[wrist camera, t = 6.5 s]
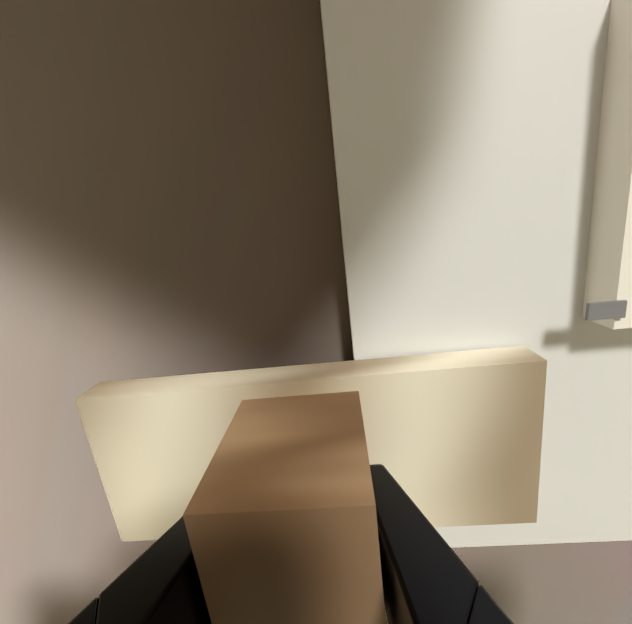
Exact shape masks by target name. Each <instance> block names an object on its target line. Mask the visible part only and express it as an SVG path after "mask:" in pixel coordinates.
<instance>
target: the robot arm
mask: <svg viewBox="0 0 632 624" xmlns="http://www.w3.org/2000/svg"><path fill="white" fill-rule="evenodd" d="M370 470H371V477H372V484H373V490H374V497H375V504H376V514H377V526H378V538H379V549H380V561H381V573H382V584H383V596H384V605H385V609H386V614H387V618H388V622H389V624H513V622H512V621H511V620H510V619H509V618H508V617H507V615H506V614H505V613H504V612H503V611H502V610H501V608H500V607H499V606H498V605H497V604H496V602H495V601H494V600H493V599H492V597H491V596H490V595H489V594H488V592H487V591H486V590H485V589H484V588H483V586H481V585H479V582H478V580H477V579H476V578H475V577H474V576H473V574H472V573H471V572H470V571H469V569H468V568H467V567H466V566H465V565H464V563H463V562H462V561H461V560H460V558H459V557H458V556H457V555H456V554H455V552H454V551H453V550H452V549H451V547H450V546H449V545H448V544H447V542H446V541H445V540H444V539H443V538H442V536H441V535H440V534H439V533H438V531H437V530H436V529H435V528H434V527H433V525H432V524H431V523H430V522H429V520H428V519H427V518H426V517H425V516H424V514H423V513H422V512H421V511H420V509H419V508H418V507H417V506H416V505H415V503H414V502H413V501H412V500H411V498H410V497H409V496H408V495H407V493H406V492H405V491H404V490H403V489H402V487H401V486H400V485H399V484H398V482H397V481H396V480H395V479H394V478H393V476H392V475H391V474H390V473H389V471H388V470H387V469H386V468H385V467H384V465H382V464H372V465H370ZM68 624H212V623H211V619H210V616H209V612H208V608H207V605H206V601H205V597H204V593H203V590H202V586H201V582H200V578H199V575H198V571H197V567H196V563H195V560H194V556H193V552H192V549H191V545H190V541H189V537H188V534H187V530H186V526H185V522H184V519H183V516H182V517H181V518H180V519H179V520H178V521H177V522H176V523H175V524H174V525H173V526H172V527H170V528H169V529H168V530H167V531H166V532H165V533H164V534H163V535H162V536H161V537H160V538H159V539H158V540H157V541H156V542H155V543H153V544H152V545H151V546H150V547H149V548H148V549H147V550H146V551H145V552H144V553H143V554H142V555H141V556H140V557H139V558H138V559H136V560H135V561H134V562H133V563H132V564H131V565H130V566H129V567H128V568H127V569H126V570H125V571H124V572H123V573H122V574H121V575H119V576H118V577H117V578H116V579H115V580H114V581H113V582H112V583H111V584H110V585H109V586H108V587H107V588H106V589H105V590H104V591H103V592H101V593H100V595H99V598H95V599H94V600H93V601H92V602H91V603H90V604H89V605H87V606H86V607H85V608H84V609H83V610H82V611H81V612H80V613H79V614H78V615H77V616H76V617H75V618H74V619H72V620H71V621H70V622H69V623H68Z"/></svg>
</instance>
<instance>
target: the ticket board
mask: <svg viewBox="0 0 632 624" xmlns="http://www.w3.org/2000/svg"><path fill="white" fill-rule="evenodd" d="M320 6H321V17H322V28H323V39H324V49H325V60H326V71H327V81H328V92H329V103H330V113H331V124H332V135H333V146H334V156H335V167H336V178H337V188H338V199H339V210H340V220H341V231H342V242H343V253H344V263H345V274H346V285H347V295H348V306H349V317H350V328H351V338H352V349H353V360H363V359H375V358H386V357H398V356H409V355H421V354H432V353H444V352H456V351H467V350H479V349H490V348H502V347H513V346H525V347H527V348H528V349H530V350H531V351H533V352H535V353H536V354H538V355H539V356H541V357H542V358H544V359H545V360H547V372H546V387H545V402H544V417H543V433H542V448H541V463H540V478H539V493H538V509H537V523H517V524H496V525H474V526H452V527H434V528H435V529H436V530H437V531H438V533H439V534H440V535H441V536H442V538H443V539H444V540H445V541H446V542H447V544H448V545H449V546H450V547H451V548H454V547H479V546H503V545H527V544H552V543H576V542H601V541H625V540H632V0H320Z"/></svg>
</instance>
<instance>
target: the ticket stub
mask: <svg viewBox="0 0 632 624" xmlns="http://www.w3.org/2000/svg"><path fill="white" fill-rule="evenodd" d="M546 372H547V360H545V359H544V358H542V357H541V356H539V355H538V354H536V353H535V352H533V351H531V350H530V349H528V348H527V347H525V346H513V347H502V348H490V349H479V350H467V351H456V352H444V353H432V354H421V355H409V356H398V357H386V358H375V359H363V360H351V361H340V362H328V363H317V364H305V365H294V366H282V367H270V368H259V369H247V370H236V371H224V372H213V373H201V374H189V375H178V376H166V377H155V378H143V379H132V380H120V381H108V382H100V383H98V384H97V385H95V386H94V387H92V388H91V389H89V390H88V391H87V392H85V393H84V394H82V395H81V396H79V397H78V398H76V399H75V402H76V405H77V408H78V411H79V414H80V417H81V420H82V423H83V426H84V429H85V432H86V435H87V438H88V441H89V444H90V447H91V450H92V453H93V456H94V459H95V462H96V465H97V468H98V471H99V474H100V477H101V480H102V483H103V486H104V489H105V492H106V495H107V498H108V501H109V504H110V507H111V510H112V513H113V516H114V519H115V522H116V525H117V528H118V531H119V534H120V537H121V540H122V542H125V541H147V540H158V539H159V538H160V537H161V536H162V535H163V534H164V533H165V532H166V531H167V530H168V529H169V528H170V527H172V526H173V525H174V524H175V523H176V522H177V521H178V520H179V519H180V518H181V517H182V516H183V519H184V522H185V526H186V530H187V534H188V537H189V541H190V545H191V549H192V552H193V556H194V560H195V563H196V567H197V571H198V575H199V578H200V582H201V586H202V590H203V593H204V597H205V601H206V605H207V608H208V612H209V616H210V619H211V623H212V624H386V620H385V608H384V596H383V584H382V573H381V561H380V549H379V538H378V526H377V514H376V504H375V497H374V490H373V484H372V477H371V470H370V465H372V464H382V465H384V467H385V468H386V469H387V470H388V471H389V473H390V474H391V475H392V476H393V478H394V479H395V480H396V481H397V482H398V484H399V485H400V486H401V487H402V489H403V490H404V491H405V492H406V493H407V495H408V496H409V497H410V498H411V500H412V501H413V502H414V503H415V505H416V506H417V507H418V508H419V509H420V511H421V512H422V513H423V514H424V516H425V517H426V518H427V519H428V520H429V522H430V523H431V524H432V525H433V527H452V526H474V525H496V524H517V523H537V509H538V493H539V478H540V463H541V448H542V433H543V417H544V402H545V387H546Z"/></svg>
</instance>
